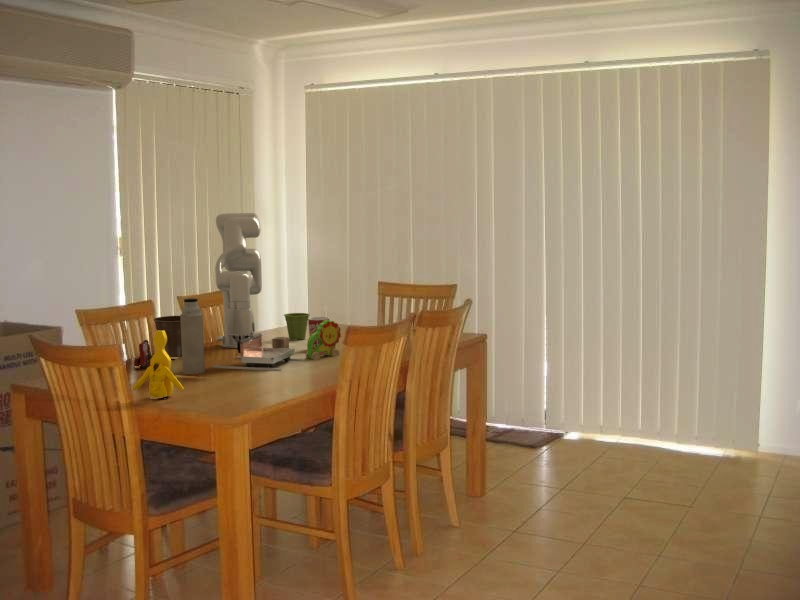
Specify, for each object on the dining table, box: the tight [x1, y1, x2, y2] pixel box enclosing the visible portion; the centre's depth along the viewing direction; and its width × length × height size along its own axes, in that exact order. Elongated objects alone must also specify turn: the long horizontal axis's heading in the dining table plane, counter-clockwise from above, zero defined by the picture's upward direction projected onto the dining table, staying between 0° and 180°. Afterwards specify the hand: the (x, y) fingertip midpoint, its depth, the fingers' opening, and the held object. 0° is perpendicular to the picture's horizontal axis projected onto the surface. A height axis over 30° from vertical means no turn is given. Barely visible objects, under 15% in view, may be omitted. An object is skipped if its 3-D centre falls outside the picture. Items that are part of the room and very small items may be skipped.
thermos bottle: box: [179, 298, 206, 375], centre depth 343 cm, size 8×8×28 cm
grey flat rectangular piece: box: [211, 355, 304, 372], centre depth 357 cm, size 28×21×2 cm
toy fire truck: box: [133, 339, 153, 367], centre depth 359 cm, size 7×12×10 cm, turn 1°
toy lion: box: [305, 320, 342, 361], centre depth 371 cm, size 16×5×15 cm, turn 135°
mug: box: [308, 316, 330, 349], centre depth 393 cm, size 13×9×14 cm
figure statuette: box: [131, 330, 185, 397], centre depth 304 cm, size 18×8×22 cm, turn 82°
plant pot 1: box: [153, 315, 182, 357], centre depth 379 cm, size 16×16×16 cm
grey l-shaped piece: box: [239, 332, 296, 368], centre depth 356 cm, size 14×20×11 cm
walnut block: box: [271, 336, 290, 349], centre depth 375 cm, size 5×5×8 cm
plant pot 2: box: [283, 312, 311, 341], centre depth 421 cm, size 12×12×11 cm
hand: (242, 352), depth 359 cm, fingers closed
